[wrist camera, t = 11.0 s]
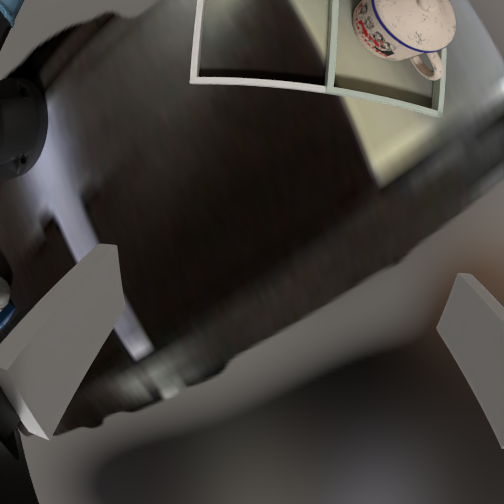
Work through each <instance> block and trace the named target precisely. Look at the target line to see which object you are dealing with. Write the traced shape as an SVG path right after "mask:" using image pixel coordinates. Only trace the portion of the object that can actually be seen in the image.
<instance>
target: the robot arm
mask: <svg viewBox="0 0 504 504" xmlns="http://www.w3.org/2000/svg"><path fill="white" fill-rule="evenodd" d="M23 2H24V0H0V50H1V48H2V46H3V44H4V42H5V40H6V37H7V35H8V33H9V31H10V29H11V28H12V27H13V26H14V21H15V18H16V16H17V14H18V12H19V10H20V8H21V6H22V4H23ZM46 134H47V110H46V105H45V101H44V98H43V95H42V93H41V92H40V90H39V88H38V87H37V86H36V85H35V84H34V83H33V82H32V81H30V80H28V79H26V78H6V79H3V80H0V180H10V179H13V178H16V177H18V176H21V175H23V174H25V173H26V172H28V171H29V170H30V169H31V168H32V167H33V166H34V164H35V163H36V162H37V160H38V158H39V156H40V154H41V152H42V149H43V147H44V143H45V139H46ZM124 310H125V303H124V297H123V290H122V283H121V276H120V268H119V260H118V251H117V245H108V244H98V245H97V246H96V247H95V248H94V249H93V250H92V251H91V252H89V253H88V254H87V255H86V256H85V257H84V258H83V259H82V260H81V261H80V262H79V263H78V264H77V265H75V266H74V267H73V268H72V269H71V270H70V271H69V272H68V273H67V274H66V275H65V276H64V277H63V278H62V279H61V280H60V281H59V282H58V283H57V284H56V285H55V286H54V287H53V288H52V289H51V290H50V291H49V292H48V293H47V294H46V295H45V296H44V297H43V298H42V299H41V300H40V301H39V302H38V303H37V304H36V305H35V306H30V307H28V308H27V309H25V310H23V311H22V312H20V313H19V314H18V315H17V316H16V317H15V318H14V319H13V320H12V321H11V322H10V325H7V326H6V328H5V329H4V330H3V331H2V334H1V333H0V504H39V502H38V499H37V496H36V493H35V490H34V487H33V484H32V481H31V477H30V473H29V470H28V466H27V462H26V458H25V455H24V450H23V446H22V441H21V436H20V433H19V431H18V429H17V427H16V426H17V424H18V422H19V421H20V419H21V421H22V422H23V424H24V425H25V427H26V428H27V429H28V431H29V432H31V433H33V434H36V435H38V436H40V437H43V438H45V439H47V440H50V439H51V437H52V435H53V433H54V431H55V429H56V427H57V425H58V423H59V421H60V419H61V417H62V415H63V413H64V412H65V410H66V408H67V406H68V404H69V402H70V401H71V399H72V397H73V395H74V393H75V391H76V390H77V388H78V386H79V384H80V383H81V381H82V379H83V377H84V376H85V374H86V372H87V370H88V369H89V367H90V365H91V363H92V362H93V360H94V358H95V357H96V355H97V353H98V352H99V350H100V348H101V347H102V345H103V343H104V342H105V340H106V338H107V337H108V335H109V333H110V332H111V330H112V329H113V327H114V325H115V324H116V322H117V321H118V319H119V317H120V316H121V314H122V313H123V311H124ZM436 329H437V331H438V332H439V334H440V335H441V337H442V339H443V340H444V342H445V344H446V345H447V347H448V349H449V350H450V352H451V354H452V355H453V357H454V358H455V360H456V362H457V364H458V365H459V367H460V369H461V371H462V372H463V374H464V376H465V378H466V379H467V381H468V383H469V385H470V386H471V388H472V390H473V392H474V394H475V396H476V397H477V399H478V401H479V403H480V405H481V407H482V409H483V411H484V413H485V414H486V417H487V419H488V420H489V423H490V425H491V427H492V429H493V431H494V433H495V435H496V437H497V439H498V441H499V444H500V446H501V448H502V449H503V448H504V308H503V306H502V305H501V304H500V303H499V302H498V301H497V300H496V299H495V298H494V297H493V296H492V295H491V294H490V293H489V292H488V291H487V289H486V288H485V287H484V286H483V285H482V284H481V283H480V282H479V281H478V280H477V279H476V278H475V277H474V276H473V275H472V274H465V273H458V274H457V277H456V280H455V283H454V285H453V288H452V291H451V293H450V296H449V299H448V301H447V304H446V306H445V309H444V311H443V314H442V316H441V319H440V321H439V323H438V326H437V328H436Z"/></svg>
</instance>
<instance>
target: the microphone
mask: <svg viewBox="0 0 504 504" xmlns="http://www.w3.org/2000/svg"><path fill="white" fill-rule="evenodd" d="M9 298H10V287H9V285H8V283H7V282H6V280H5V279H3V278H2V277H0V330H1V329H2V328H3V327H4V326H5V324H6V323H7V322H8V320H9V319H10V317H11V315H12V313H13V311H14V310H15V307H14V306H13V305H12V304H11V303H10V302H9Z"/></svg>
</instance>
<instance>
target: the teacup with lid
mask: <svg viewBox="0 0 504 504" xmlns="http://www.w3.org/2000/svg"><path fill="white" fill-rule="evenodd" d="M353 27H354V31H355V33H356V36H357V37H358V39H359V41H360V42H361V43H362V44H363V46H364V47H365V48H366V49H368V50H369V51H370V52H371V53H373V54H374V55H376V56H378V57H380V58H383V59H387V60H393V61H397V60H403V59H406V58H410V60H411V61H412V63H413V65H414V66H415V68H416V69H417V70H418V72H419V73H420V74H422V75H423V76H424V77H426V78H427V79H430V80H438V79H440V78H441V77H442V76H443V74H444V68H443V64H442V61H441V59H440V57H439V55H438V53H437V51H440V50H442V49H444V48H445V47H446V46H448V44H449V43H450V42H451V40H452V39H453V37H454V34H455V29H456V21H455V15H454V12H453V9H452V7H451V4H450V3H449V1H448V0H362V1H361V2H360V3H359V4H358V5H357V7H356V8H355V11H354V14H353ZM422 53H426V54H427V56H428V58H429V59H430V61H431V64H432V66H433V71H434V72H433V71H431V70H430V69H428V68H427V67H426V66H425V64H424V63H423V62H422V60H421V58H420V57H419V54H422Z"/></svg>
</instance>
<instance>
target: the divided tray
mask: <svg viewBox="0 0 504 504" xmlns="http://www.w3.org/2000/svg"><path fill="white" fill-rule="evenodd" d="M205 4H206V0H198V1H197V9H196V18H195V28H194V38H193V49H192V60H191V73H190V83H191V84H227V85H249V86H264V87H276V88H286V89H296V90H304V91H312V92H319V93H326V94H333V95H339V96H345V97H351V98H356V99H361V100H366V101H371V102H376V103H381V104H385V105H390V106H394V107H398V108H402V109H406V110H410V111H414V112H418V113H422V114H425V115H429V116H432V117H437V118H442V115H443V105H444V93H445V77H446V47H445V48H444V49H442V50H440V51H437V53H438V55H439V57H440V59H441V61H442V64H443V68H444V74H443V76H442V77H441V78H440V79H438V80H434V81H433V95H432V107H431V109H430V108H426V107H423V106H419V105H415V104H412V103H408V102H404V101H400V100H396V99H392V98H388V97H383V96H379V95H374V94H369V93H364V92H359V91H354V90H349V89H343V88H337V87H334V78H335V64H336V49H337V32H338V10H339V0H330V7H329V28H328V45H327V60H326V74H325V86H320V85H313V84H305V83H297V82H288V81H277V80H265V79H251V78H229V77H199V68H200V55H201V44H202V33H203V23H204V13H205Z"/></svg>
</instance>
